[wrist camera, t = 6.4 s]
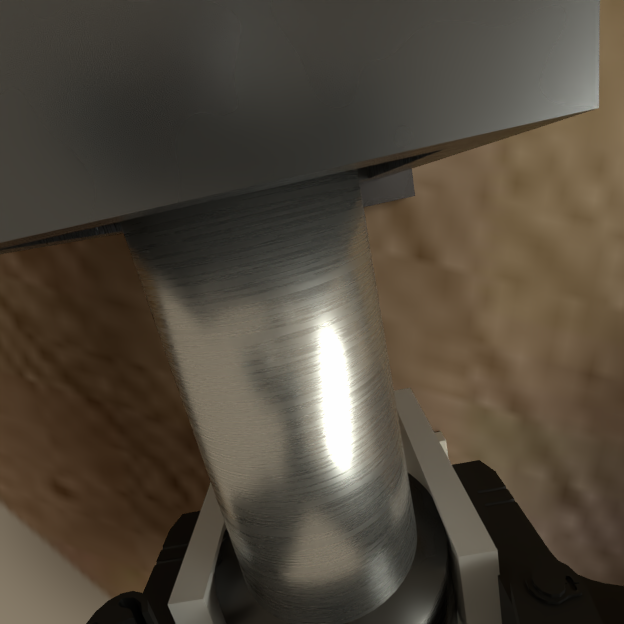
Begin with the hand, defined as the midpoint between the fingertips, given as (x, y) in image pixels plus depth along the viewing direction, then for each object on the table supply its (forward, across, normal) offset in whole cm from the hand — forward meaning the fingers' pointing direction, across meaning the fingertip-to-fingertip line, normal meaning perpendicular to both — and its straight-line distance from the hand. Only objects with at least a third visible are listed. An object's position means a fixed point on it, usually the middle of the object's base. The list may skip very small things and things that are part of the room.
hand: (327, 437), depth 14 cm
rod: (-3, 0, +3) cm, 4 cm away
